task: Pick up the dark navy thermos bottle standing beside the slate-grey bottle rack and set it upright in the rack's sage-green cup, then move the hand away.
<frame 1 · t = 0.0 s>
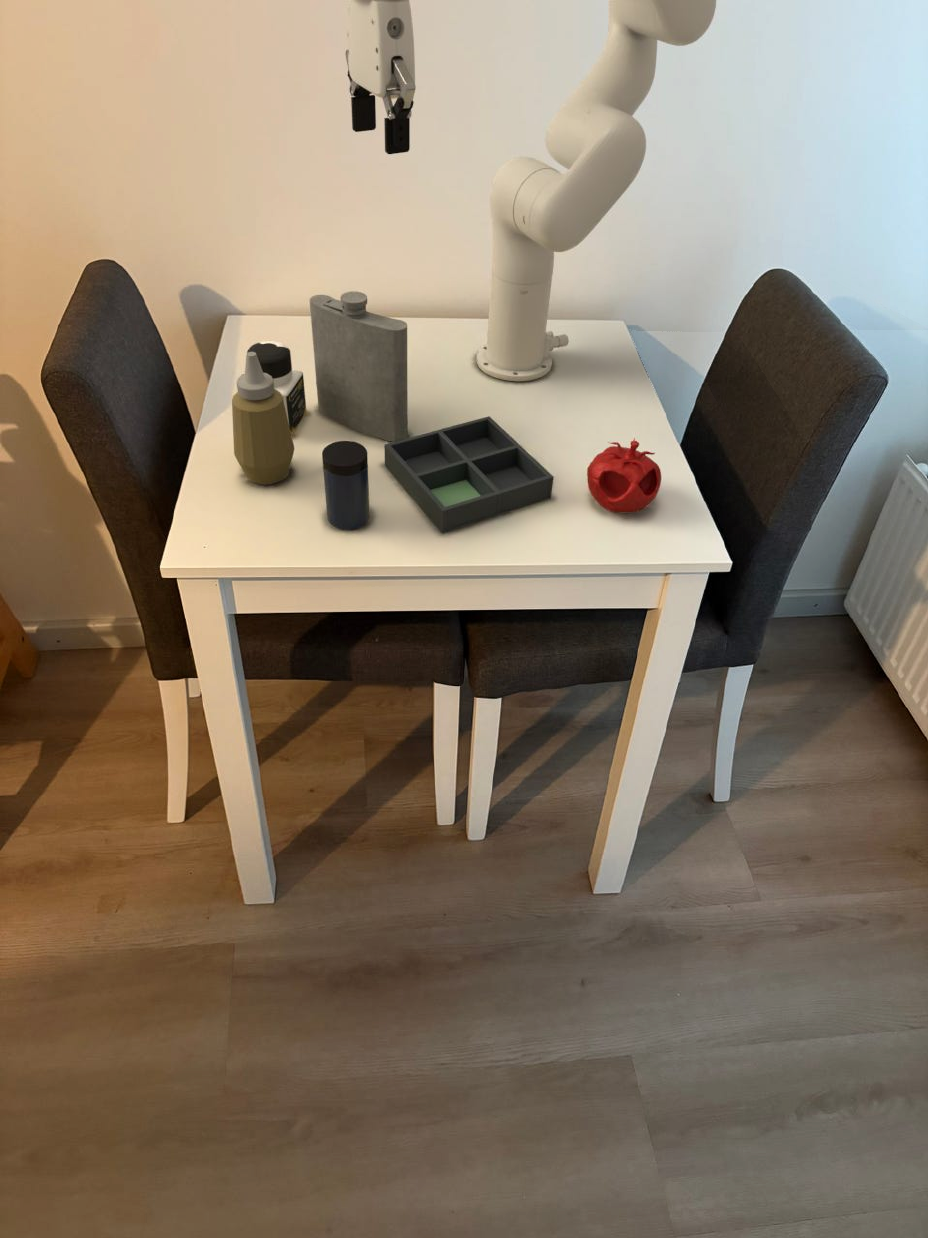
hand: (380, 140, 115), 37 cm above the table, tool pointing down, fingers open, 9 cm apart
hip flask: (360, 425, 134), on the table
medicine bottle: (277, 422, 134), on the table
thermos: (348, 516, 118), on the table
red hollow tomato: (619, 500, 123), on the table
squeeze bottle: (267, 474, 124), on the table
rack: (466, 481, 124), on the table
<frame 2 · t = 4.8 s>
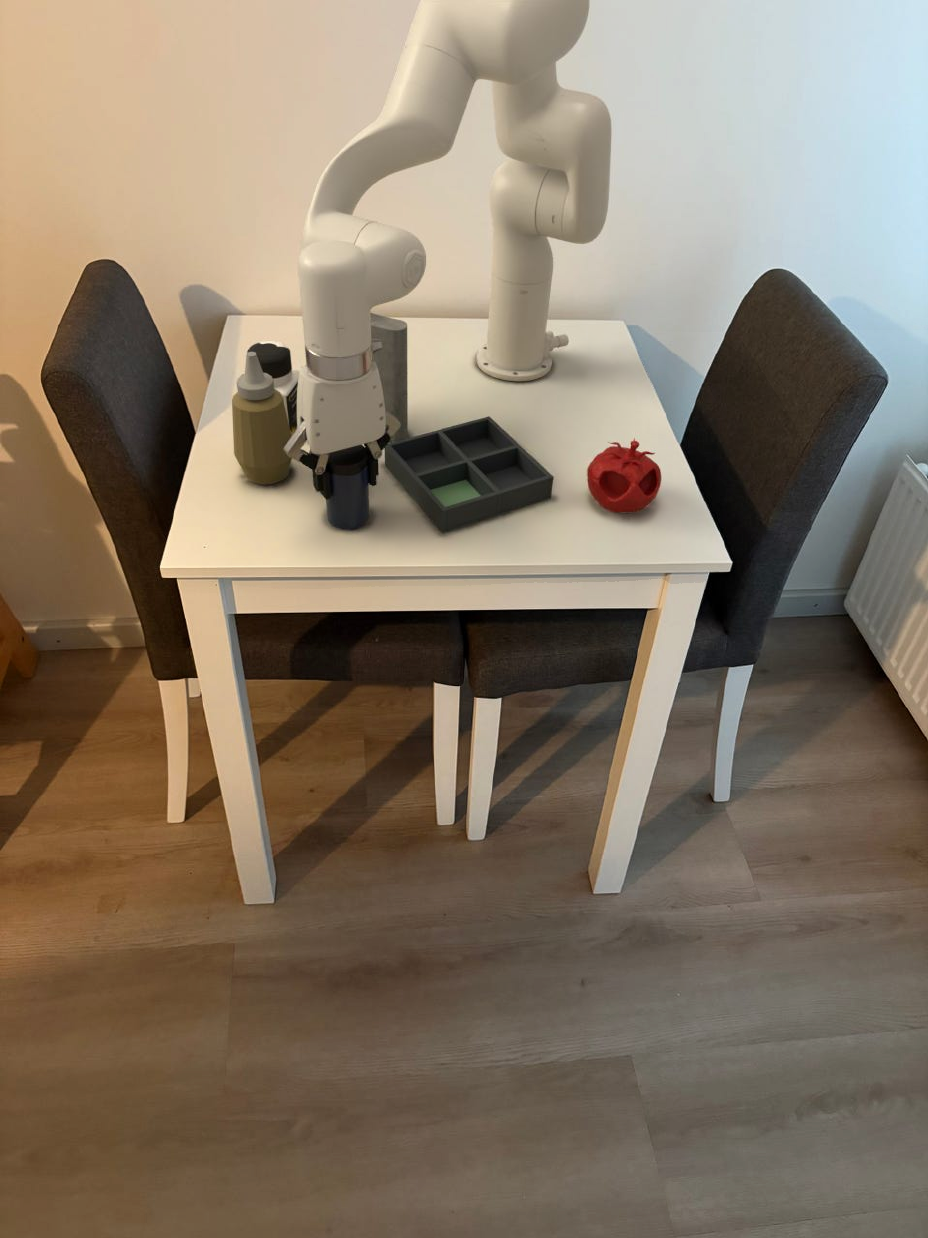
hand: (346, 485, 114), 5 cm above the table, tool pointing down, fingers closed on thermos, 5 cm apart
thermos: (348, 516, 118), on the table, touching gripper
everything else where it was.
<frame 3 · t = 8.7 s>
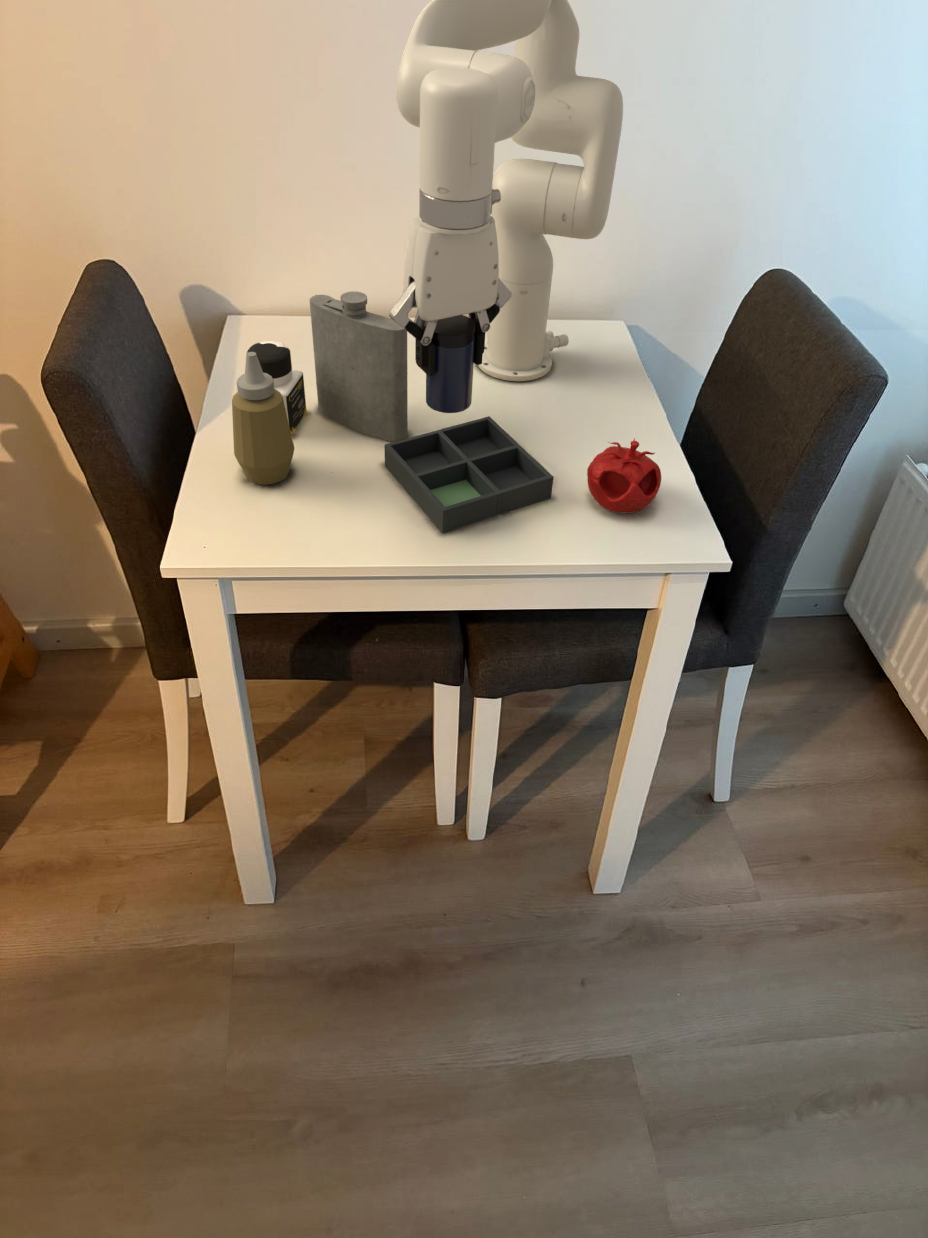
hand: (449, 363, 105), 21 cm above the table, tool pointing down, fingers closed on thermos, 5 cm apart
thermos: (448, 401, 109), point 16 cm above the table, touching gripper
everything else where it was.
when the fingers open (6 cm above the table, at t = 12.6 s): thermos stays where it is, resting on rack.
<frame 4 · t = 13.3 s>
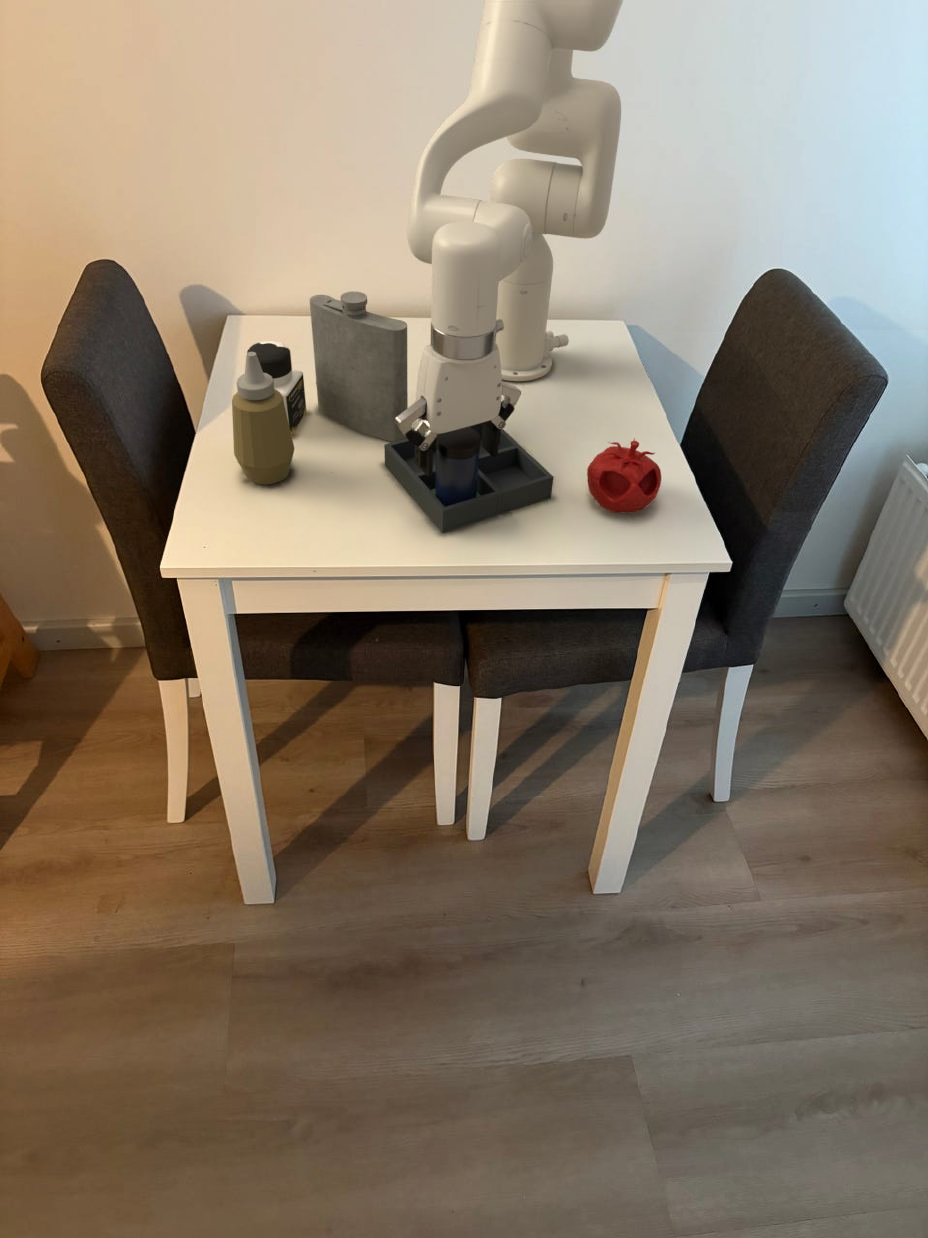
hand: (457, 460, 115), 7 cm above the table, tool pointing down, fingers open, 9 cm apart
thermos: (455, 501, 120), point 1 cm above the table, touching rack
everything else where it was.
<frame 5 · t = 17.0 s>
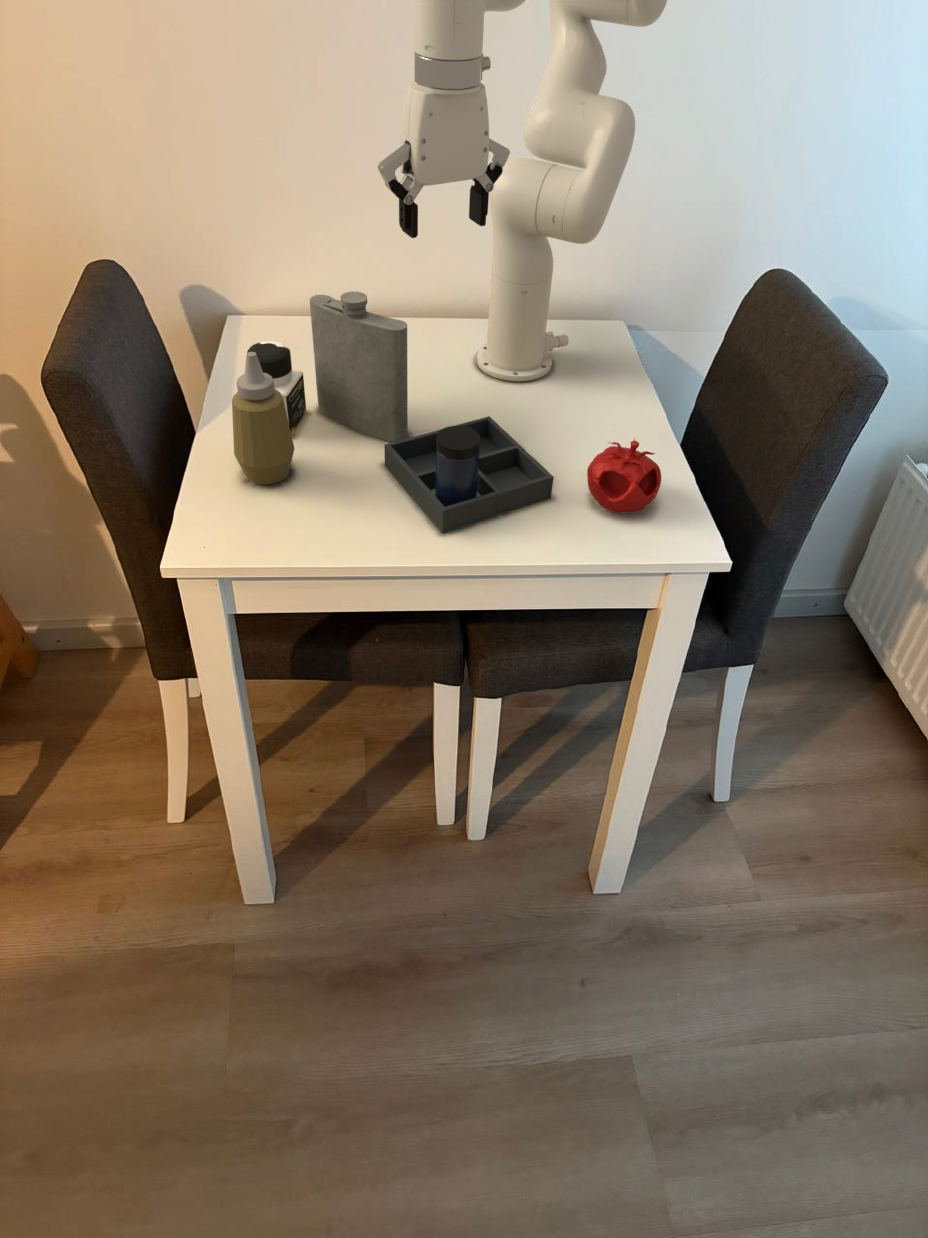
hand: (443, 228, 111), 30 cm above the table, tool pointing down, fingers open, 9 cm apart
nothing on the table moved.
at the end: thermos 0.1 cm from the target spot in the rack, point 0.8 cm above the rack's base; thermos tilted 0°; the gripper is holding nothing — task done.
